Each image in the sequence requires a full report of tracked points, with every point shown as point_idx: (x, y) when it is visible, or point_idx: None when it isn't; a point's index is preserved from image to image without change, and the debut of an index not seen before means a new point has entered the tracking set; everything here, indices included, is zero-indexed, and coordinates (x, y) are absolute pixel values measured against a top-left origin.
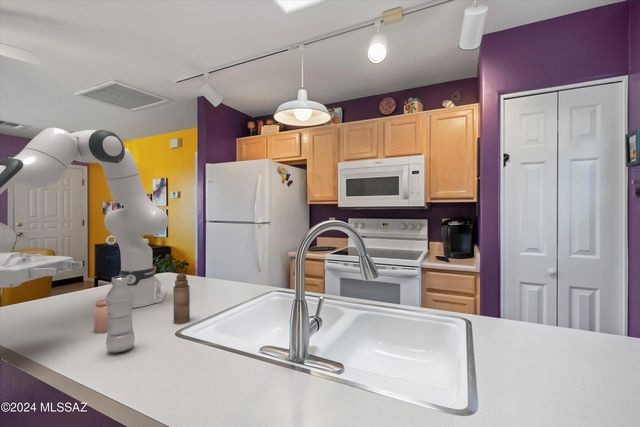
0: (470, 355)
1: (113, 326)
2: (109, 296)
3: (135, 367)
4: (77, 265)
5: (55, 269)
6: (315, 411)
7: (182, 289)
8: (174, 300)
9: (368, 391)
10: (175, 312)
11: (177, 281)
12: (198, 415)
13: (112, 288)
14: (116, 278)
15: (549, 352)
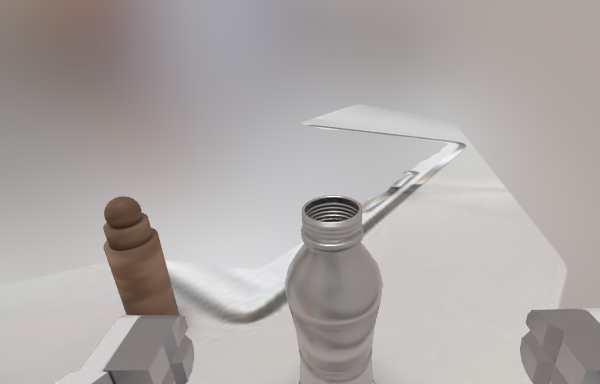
0: (380, 133)
1: (371, 363)
2: (377, 282)
3: (434, 345)
4: (179, 344)
5: (577, 311)
6: (488, 183)
7: (158, 238)
8: (149, 284)
9: (447, 164)
10: (163, 312)
11: (131, 226)
12: (536, 240)
13: (357, 256)
14: (360, 208)
15: (376, 118)
